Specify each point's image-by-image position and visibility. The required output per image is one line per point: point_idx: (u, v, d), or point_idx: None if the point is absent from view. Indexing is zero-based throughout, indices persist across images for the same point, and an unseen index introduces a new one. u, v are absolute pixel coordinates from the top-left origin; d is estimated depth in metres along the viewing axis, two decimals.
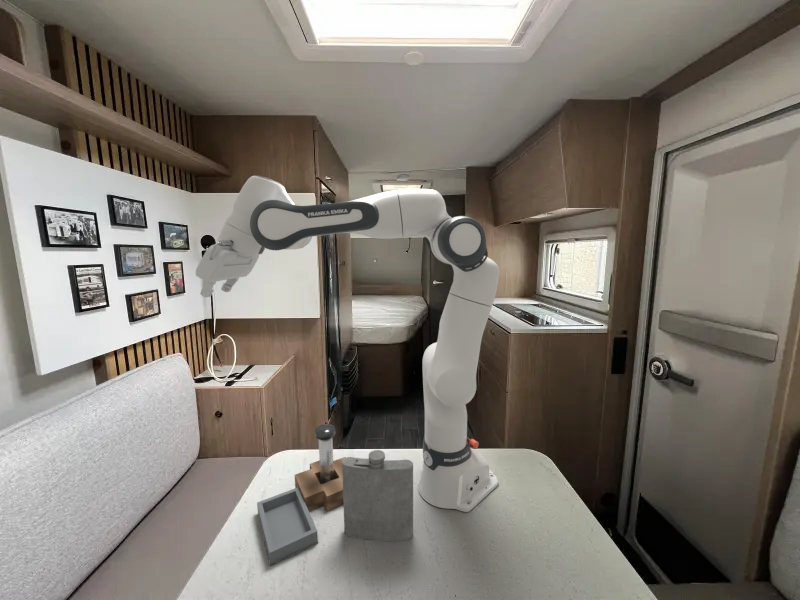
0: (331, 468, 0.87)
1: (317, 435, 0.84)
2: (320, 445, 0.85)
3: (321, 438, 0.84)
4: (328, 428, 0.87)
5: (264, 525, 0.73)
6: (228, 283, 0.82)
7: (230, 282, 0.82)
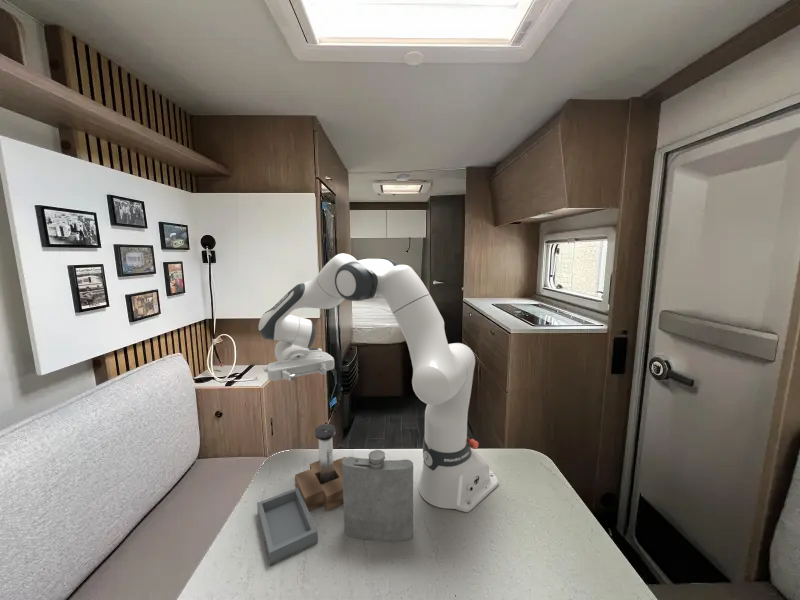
0: (331, 468, 0.87)
1: (317, 435, 0.84)
2: (320, 445, 0.85)
3: (321, 438, 0.84)
4: (328, 428, 0.87)
5: (264, 525, 0.73)
6: None
7: None
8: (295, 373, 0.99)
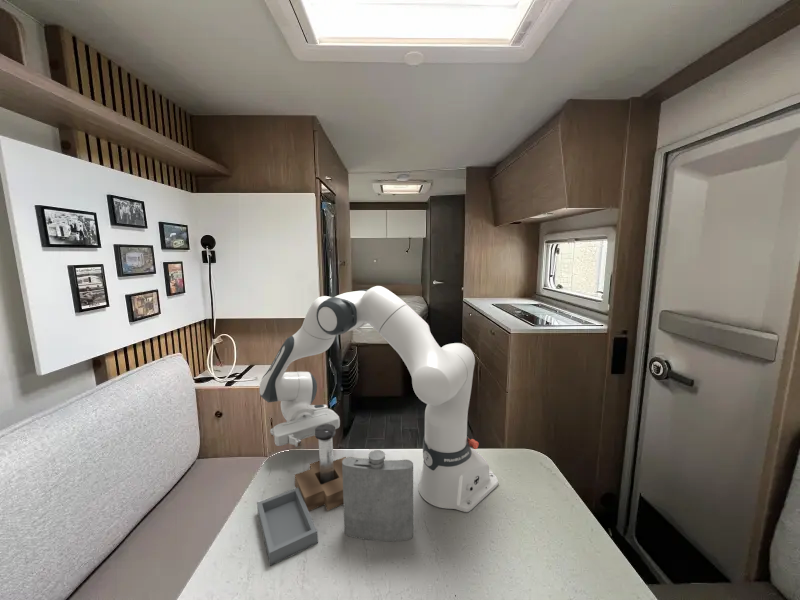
0: (331, 468, 0.87)
1: (317, 435, 0.84)
2: (320, 445, 0.85)
3: (321, 438, 0.84)
4: (328, 428, 0.87)
5: (264, 525, 0.73)
6: None
7: None
8: (301, 435, 1.00)
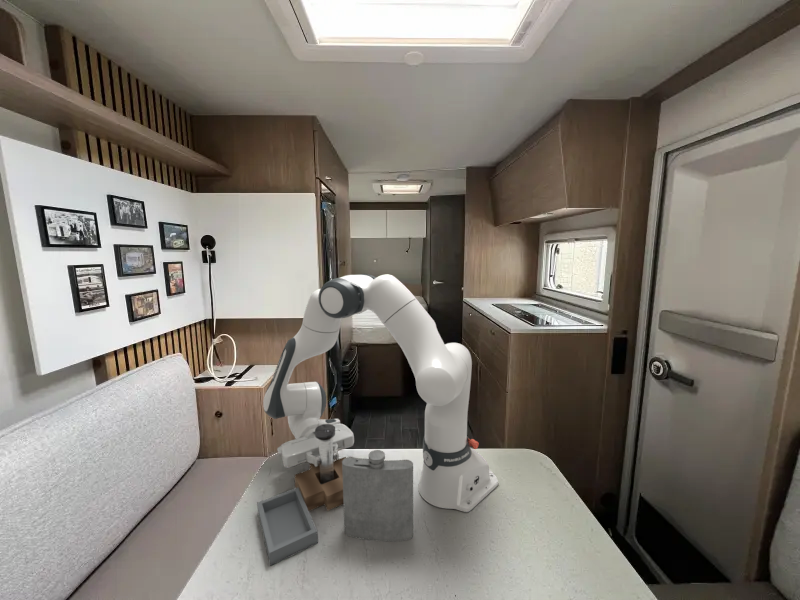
0: (331, 468, 0.87)
1: (317, 435, 0.84)
2: (320, 445, 0.85)
3: (321, 438, 0.84)
4: (328, 428, 0.87)
5: (264, 525, 0.73)
6: None
7: None
8: (312, 455, 0.90)
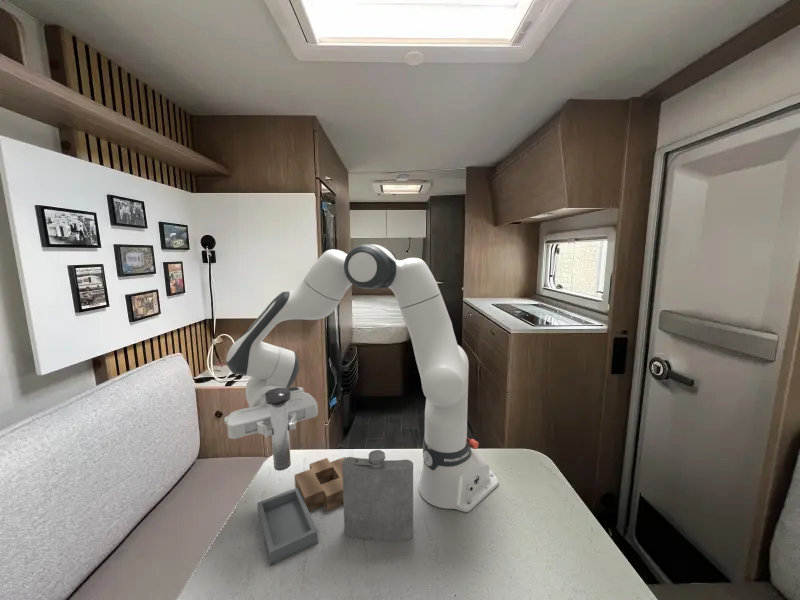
0: (285, 440, 0.72)
1: (267, 399, 0.69)
2: (271, 411, 0.71)
3: (271, 402, 0.69)
4: (282, 391, 0.72)
5: (264, 525, 0.73)
6: None
7: None
8: (265, 426, 0.75)
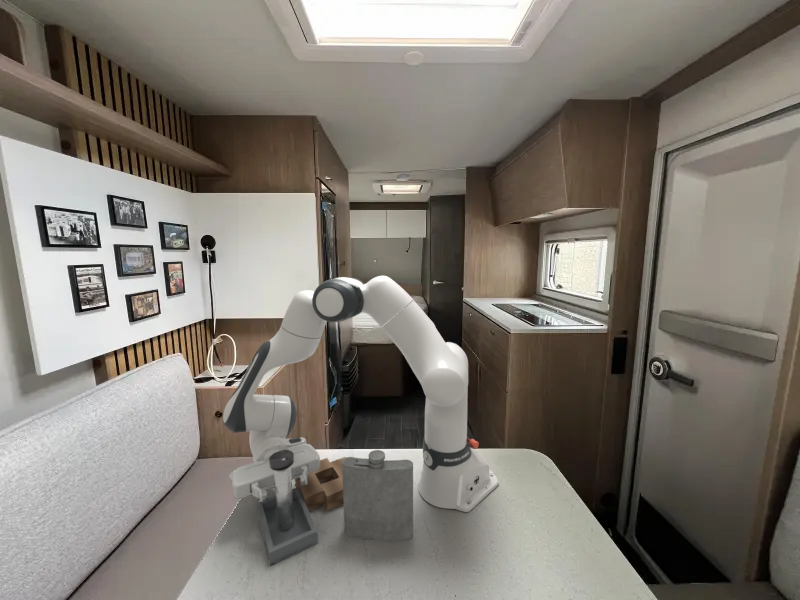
0: (289, 502, 0.74)
1: (271, 465, 0.72)
2: (275, 476, 0.73)
3: (275, 468, 0.71)
4: (285, 455, 0.74)
5: (264, 525, 0.73)
6: None
7: None
8: (269, 483, 0.77)
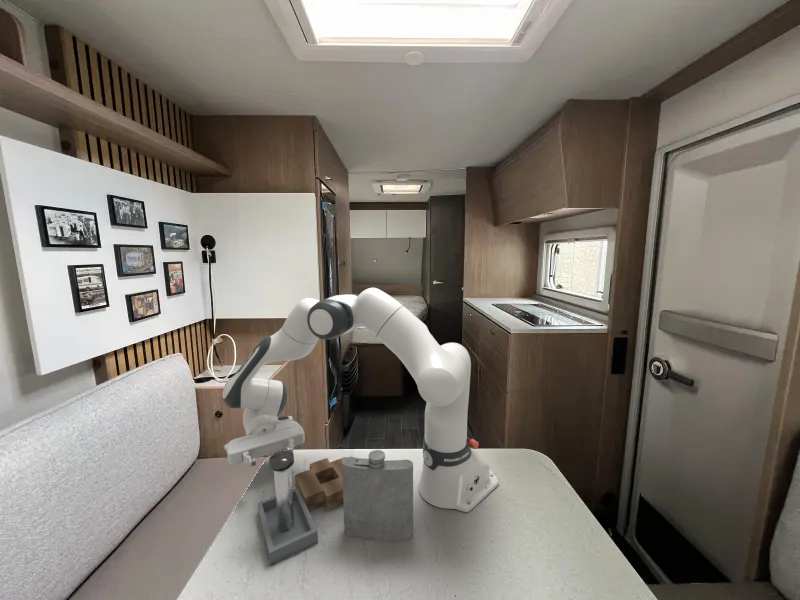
0: (289, 502, 0.74)
1: (271, 465, 0.71)
2: (275, 477, 0.73)
3: (275, 469, 0.71)
4: (285, 456, 0.74)
5: (264, 525, 0.73)
6: None
7: None
8: (259, 452, 0.89)
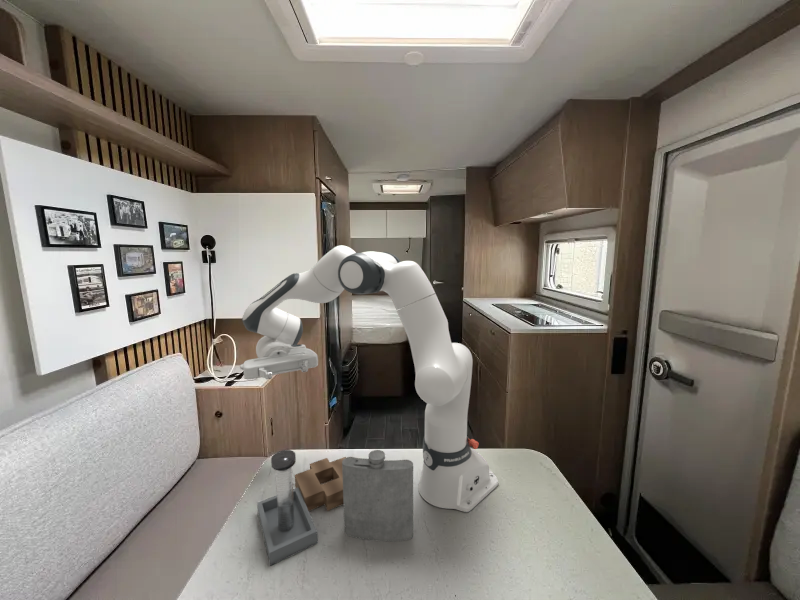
0: (290, 502, 0.74)
1: (273, 465, 0.72)
2: (277, 476, 0.73)
3: (277, 468, 0.71)
4: (287, 455, 0.74)
5: (264, 525, 0.73)
6: None
7: None
8: (274, 371, 0.91)
